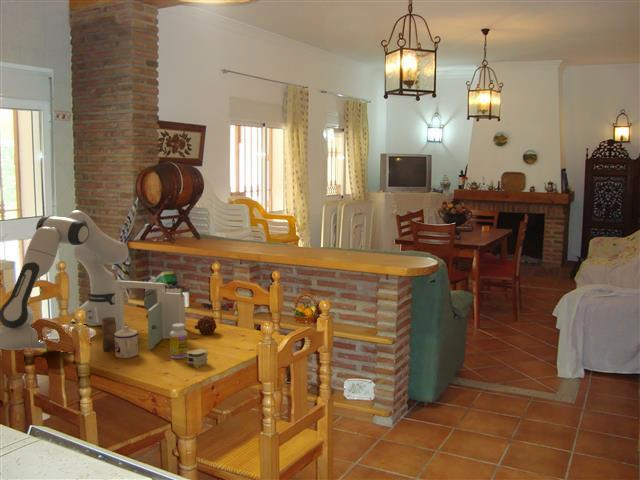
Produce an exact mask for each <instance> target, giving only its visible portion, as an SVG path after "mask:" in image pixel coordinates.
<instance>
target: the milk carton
mask: <svg viewBox="0 0 640 480" xmlns="http://www.w3.org/2000/svg"><path fill="white" fill-rule="evenodd" d="M166 293H181V319H182V324H184V325H185V326H186V301H185V298H186V297H185V295H184V293H183V292H182V289H181V288H166Z"/></svg>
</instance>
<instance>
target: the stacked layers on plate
mask: <svg viewBox="0 0 640 480" xmlns="http://www.w3.org/2000/svg"><path fill="white" fill-rule="evenodd" d="M207 352H208V350H207V349H204V348H198V349H191V350H188V351H187V353H188V355H187V357H186V358H187V360H186V362H187V363H191V364H193V368H200V367H201V365H202V366H205V365H207V364H208V361H209V358H208V353H207ZM204 364H205V365H204ZM199 366H200V367H199Z"/></svg>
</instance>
